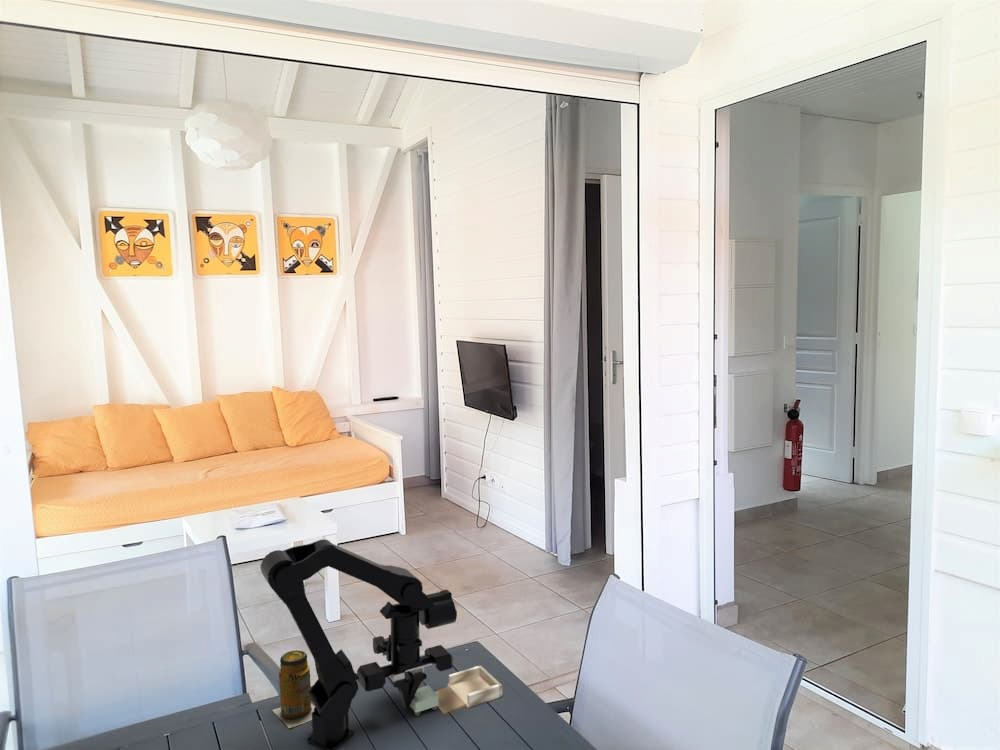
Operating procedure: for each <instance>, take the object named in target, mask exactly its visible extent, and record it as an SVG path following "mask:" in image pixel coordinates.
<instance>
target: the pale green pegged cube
mask: <svg viewBox="0 0 1000 750" xmlns="http://www.w3.org/2000/svg"><path fill="white" fill-rule="evenodd" d="M435 692H436V691H434V690H433V689H432V688H431V686H430V685H425V686H422V687H419V688H418V689H417V691H416V693H415V695H414V697H413V699H412V701H411V704H410V706H409V708H411V709H412V710H413V712H414V713H413V714H414V715H415V717H419V716H420V715H421V712H423V711H426V710H428V709H432V711H437V709H439V708H438V695H437V694H436V693H435Z"/></svg>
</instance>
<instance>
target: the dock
mask: <svg viewBox="0 0 1000 750" xmlns="http://www.w3.org/2000/svg"><path fill="white" fill-rule="evenodd" d="M434 692H435V693H436V694H437V695H438V708H437V709H439V710H440V711H441V712H442V714H448V713H451V712H454V711H457V710H460V709H463V708H465V707H466V708H467V709H468V708H472V707H475V706H478V705H481V704H484V703H486V702H489V701H493V700H496V699H498V698H502V697H503V685H502V684H501V683H500V682H499V680H497V679H496V678H495V677H494V676H493V675H492V674H491V673H489V671H487V670H486V668H484V667H483V666H482V665H481V664H480V665H477V666H473V667H470V668H467V669H464V670H461V671H456V672H454V673H451V674H448V683H447V685H446V686H445V687H444V688H441V689H438V690H436V691H434Z"/></svg>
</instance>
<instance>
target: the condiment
mask: <svg viewBox="0 0 1000 750" xmlns="http://www.w3.org/2000/svg"><path fill="white" fill-rule="evenodd" d="M279 662H280V664H279V665H280V670H279V672H278V680H279V698H280V706H279V707H277V708H273V709H272V712H273V713H274V714H275V715H276V717H277V718H278V719H279V720H280V721H281V722H283V723H284V725H285V726H286V727H287V728H288V729H291V728H295V727H297V726H299V725H303V724H305V723H307V722H310V721H312V713H313V712H314V708H315V705H314V703H313V702H312V700H311V698H310V696H309V694H308V692H309V690H310V689H311V688H312V686H311V673H310V672H311V671H310V666H309V663H308V654H307V653H306V652H305V651H303V650H290V651H287V652H286V653H284V654H283V655H281V657H280V660H279Z"/></svg>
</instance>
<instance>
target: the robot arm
mask: <svg viewBox="0 0 1000 750" xmlns="http://www.w3.org/2000/svg"><path fill="white" fill-rule="evenodd" d="M328 567H330V568H331V569H335V570H336V571H339V572H341V573H343V574H346V575H348V576H350V577H353V578H355V579H357V580H360V581H362V582H365V583H367V584H369V585H371V586H374V587H376V588H377V589H378V590H380V591H382V592H383V593H384V594H386V595H387V596H389V598H391V599H393V600H394V601H396V603H394V604H393V603H391V602H390V601H387V602H386V604H385V605H384V606H383V607H382V608H381V609H379V613H380V614H381V616H383V617H384V618H385V619H386V620H390V634H389V635H388V637H386V638H385V637H384V636H382V635H379V636H375V637H373V638H372V649H373V653H374V654H377V655H379V654H382V656H383V657H384V656H386V657H385V659H386V660H387V662H391V663H390V665H385V666H382V667H381V666H380V665H379V663H378V662H377V661H374V662H369V663H366V664H363V665H359V667H358V668H357V670H356V672H355V670H354V666H353V664H352V662H351V661H350V659H349V657H348V656H347V655H346V653H345V652H344V651H343V649H341V648H340V650H338V651H337V652H335V651H334V649H333V647H332V645H331V643H330V641H329V639H328V638H327V637H328V636H327V635H326V633H325V632H324V629H323V627H322V625H321V624H320V621H319V620H318V618H317V616H316V614H315V611H314V610H313V608H312V606H311V604H310V602H309V600H308V598H307V594H306V588H305V583H304V581H305V580H308V579H310V578H312V577H313V576H315V575H316V574H317V573H318V572H320V571H321V570H322V569H323V570H324V569H326V568H328ZM259 568H260V572H261V574H262V576H263V578H264V579H265V580H266V582H267V584H268V585H269V586H270V588H271V590H273V592H274V593H275V594H276V596H278V598H279V599H280V600H281V602H282V603H283V604H285V606H286V608H287V610H288V611H289V613H290V615H291V618H292V619H293V621H294V623H295V624H296V627H297V629H298V631H299V632H300V634H301V636H302V638H303V640H304V642H305V644H306V646H307V648H308V650H309V652H310V653H311V655H312V657H313V659H314V660H313V661H314V665H315V671H316V675H317V678H318V679H317V680H316V681H315V682H314V684H313V685H312V686H311V689H310V690H309V692H308V694H309V696H310V698H311V703H312V704H313V705H314V706H315V708H314V712H313V713H312V720H311V726H312V734H311V735H310V736H309V737H307V739H306V740H307V743H308V744H312V745H314V746H317V747H318V748H321V749H324V750H335V749H337V748H338V747H340V746H341V745H342V744H344V743H345V742H346V741H347V740H349V739H350V738H351V737H352V736H353V735H355V731H354V729H351V728H350V726H349V725H350V724H349V723H350V721H349V711H350V707H351V705H352V702H353V700H354V698H355V696H356V695H357V692H358V690H359V684H360V685H361V686H362V688H363V690H364V691H365V692H372V691H376V690H380V689H382V688H384V685H385V684H386V683H387V682H386V679H387V680H388V681H389V682H390V684H391V685H392V686H393V688H396V689H397V691H398V693H399V696H400V698H401V701H402V704H403V706H404V708H405V709H408V708H410V707H409V706H410V704H411V701H412V699H413V697H414V695H415V693H416V691H417V689H418V688H420V685H421V684H422V682H423V681H425V680H427V678H428V676H427V673H425V667H429V666H432V665H434V664H435V669H436V670H438V671H439V672H444V671H447V670H450V669H451V670H452V669H453V667H454V658H453V655H452V653H450V652H449V651H448V650H447V649H446V648H445V647H444V646H443V645H442V644H439V645H436V646H435V645H434V646H430V647H427V648H425V650H424V651H423V652H424V656H421V651H420V650H421V647H423V641H422V640H421V636H420V624H421V626H424V627H425V628H426V629H428V630H430V629H433V628H438V627H443V626H447V625H450V624H454V623H456V620H457V617H458V616H457V615H458V614H457V613H458V611H457V610H456V609H457V608H456V606H455V601H454V599H453V597H452V595H453V594H452V592H451V591H449V590H448V589H442V590H441V591H437V592H434V593H428V594H426V593H424V591H423V583H422V581H421V580H420V579H419V578H418V577H417V576H415V575H414V574H413V573H412V572H411V571H410V570H408V569H407V568H403V567H399V566H398V567H397V566H395V565H384V564H380V563H377V562H375V561H372V560H370V559H368V558H365V557H364V556H361V555H359V554H357V553H355V552H353V551H350V550H348V549H346V548H343V547H341V546H339V545H337V544H334V543H332V542H331V541H330V540H328V539H323V538H322V539H319V540H316V541H314V542H311V543H307V544H302V545H301V544H300V545H296V546H293V547H290V548H286V549H284V550H280V549H279V550H273V551H270V552H269V553H268V554H267V555H265V556H264V557H263V559H262V561H261V564H260V567H259ZM357 681H358V682H357Z"/></svg>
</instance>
